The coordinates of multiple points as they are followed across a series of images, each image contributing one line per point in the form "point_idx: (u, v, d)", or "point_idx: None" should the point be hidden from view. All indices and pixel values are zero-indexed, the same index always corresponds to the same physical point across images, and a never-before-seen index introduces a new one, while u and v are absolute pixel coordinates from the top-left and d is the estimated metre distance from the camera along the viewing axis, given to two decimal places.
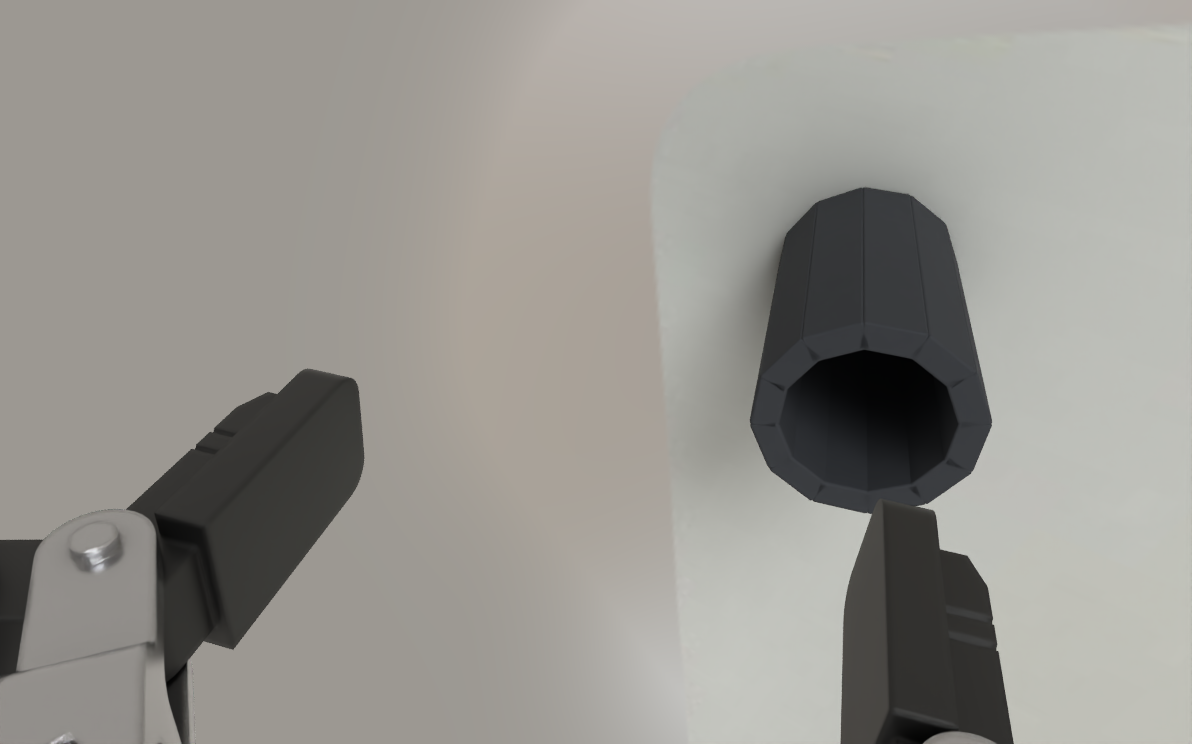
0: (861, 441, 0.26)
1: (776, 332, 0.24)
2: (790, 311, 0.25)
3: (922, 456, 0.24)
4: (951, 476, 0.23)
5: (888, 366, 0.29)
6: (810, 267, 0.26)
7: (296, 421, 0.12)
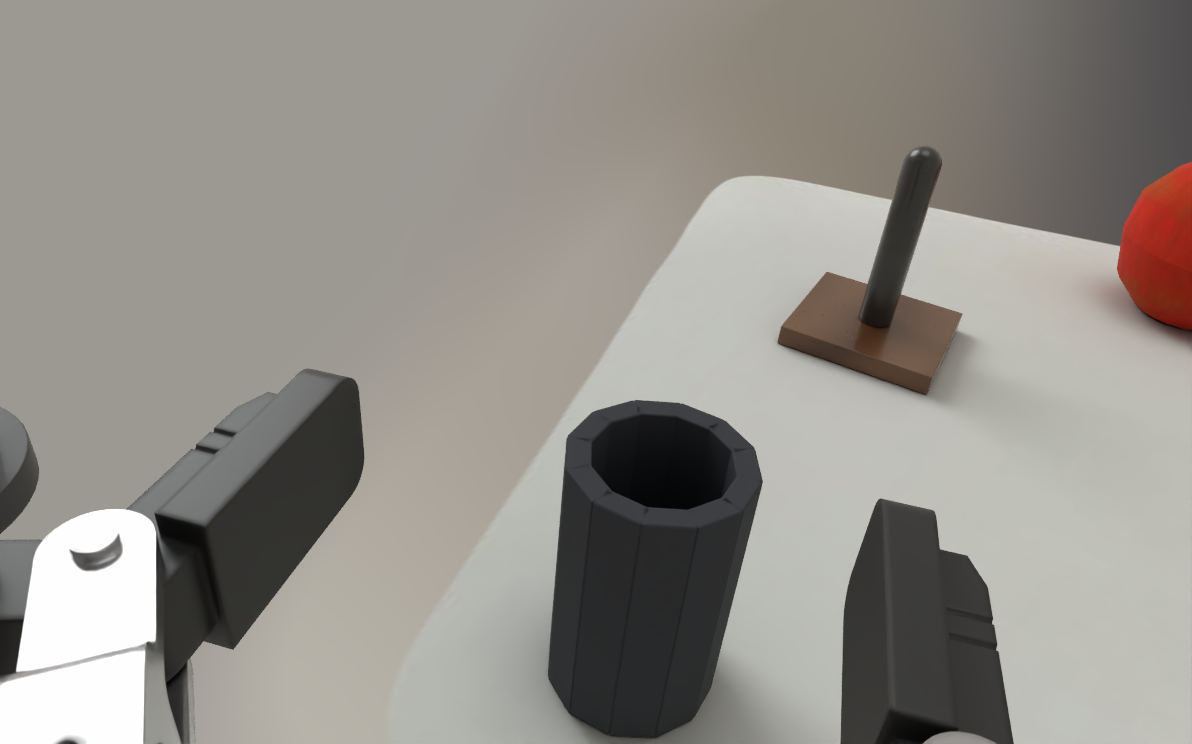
0: None
1: (579, 538, 0.26)
2: (569, 540, 0.27)
3: (718, 462, 0.28)
4: (726, 429, 0.28)
5: None
6: (557, 570, 0.28)
7: (296, 421, 0.12)
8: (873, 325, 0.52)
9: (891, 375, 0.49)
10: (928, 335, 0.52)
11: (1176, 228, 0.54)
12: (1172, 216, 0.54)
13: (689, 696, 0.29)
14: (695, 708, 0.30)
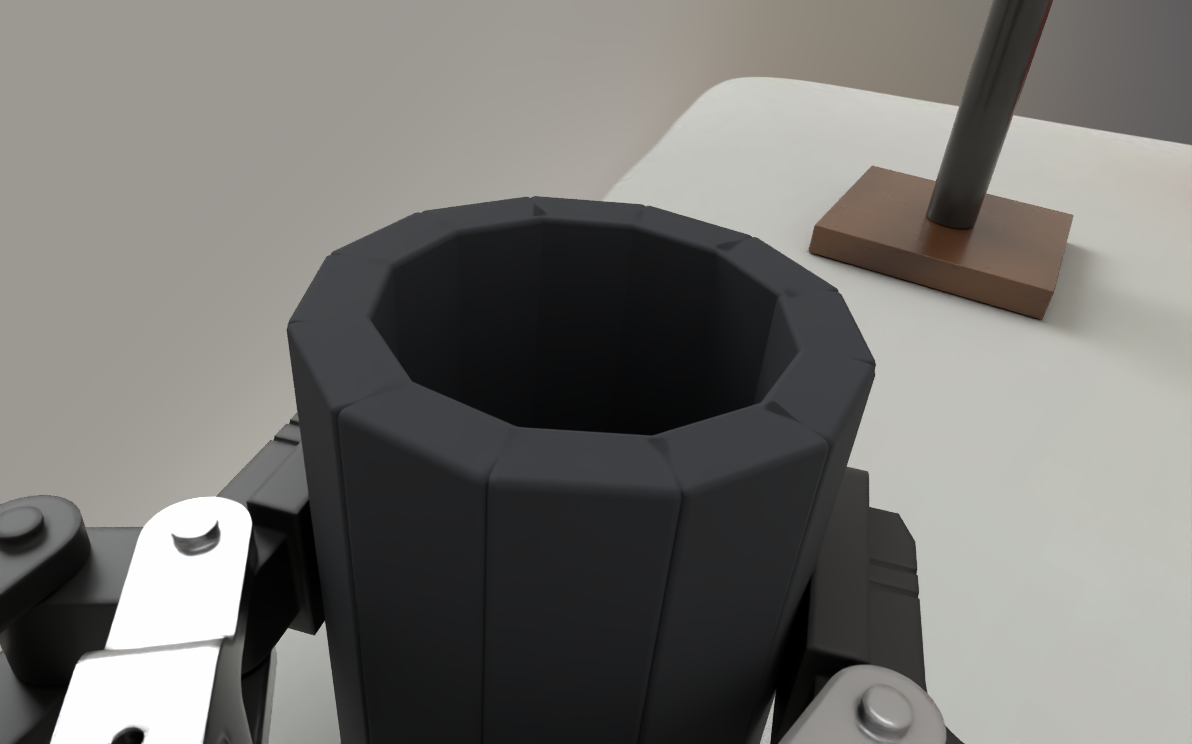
0: None
1: (334, 534, 0.09)
2: (324, 540, 0.09)
3: (739, 338, 0.11)
4: (761, 252, 0.11)
5: None
6: (326, 620, 0.11)
7: None
8: (950, 225, 0.35)
9: (986, 292, 0.32)
10: (1032, 238, 0.35)
11: None
12: None
13: None
14: None
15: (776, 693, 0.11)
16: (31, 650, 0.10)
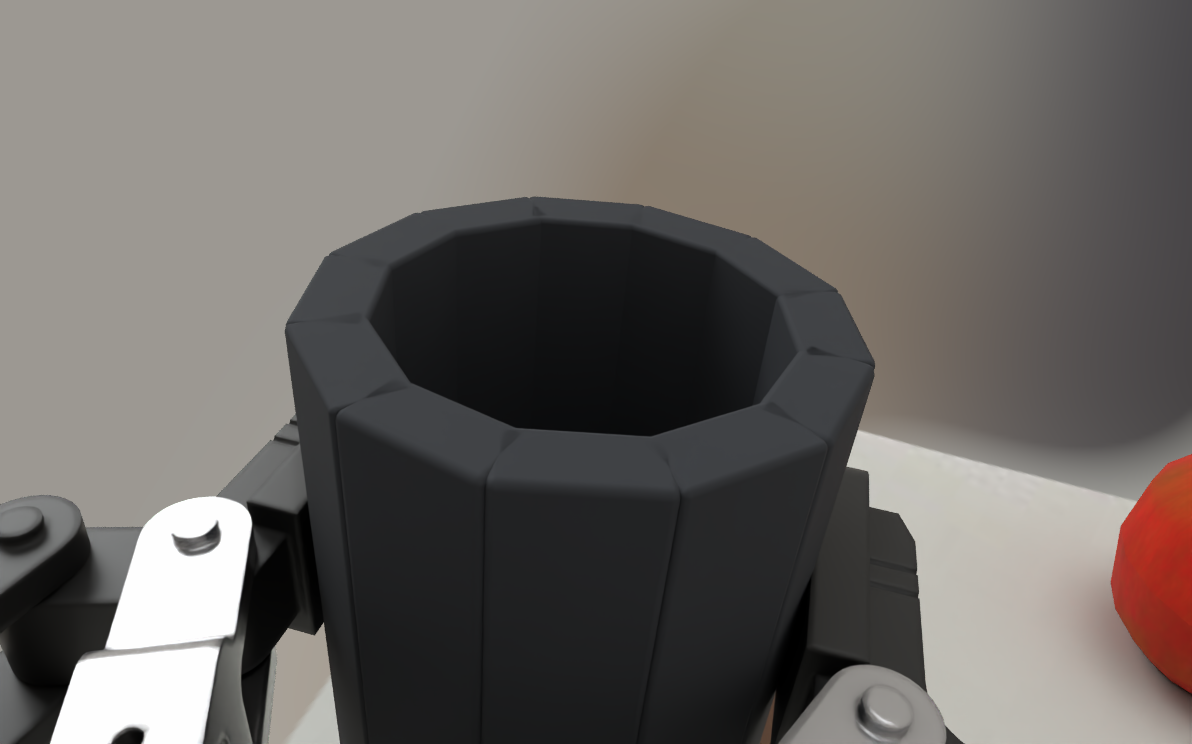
0: None
1: (332, 535, 0.09)
2: (322, 541, 0.09)
3: (739, 339, 0.11)
4: (760, 253, 0.11)
5: None
6: (324, 621, 0.11)
7: None
8: None
9: None
10: None
11: None
12: None
13: None
14: None
15: (776, 693, 0.11)
16: (31, 650, 0.10)
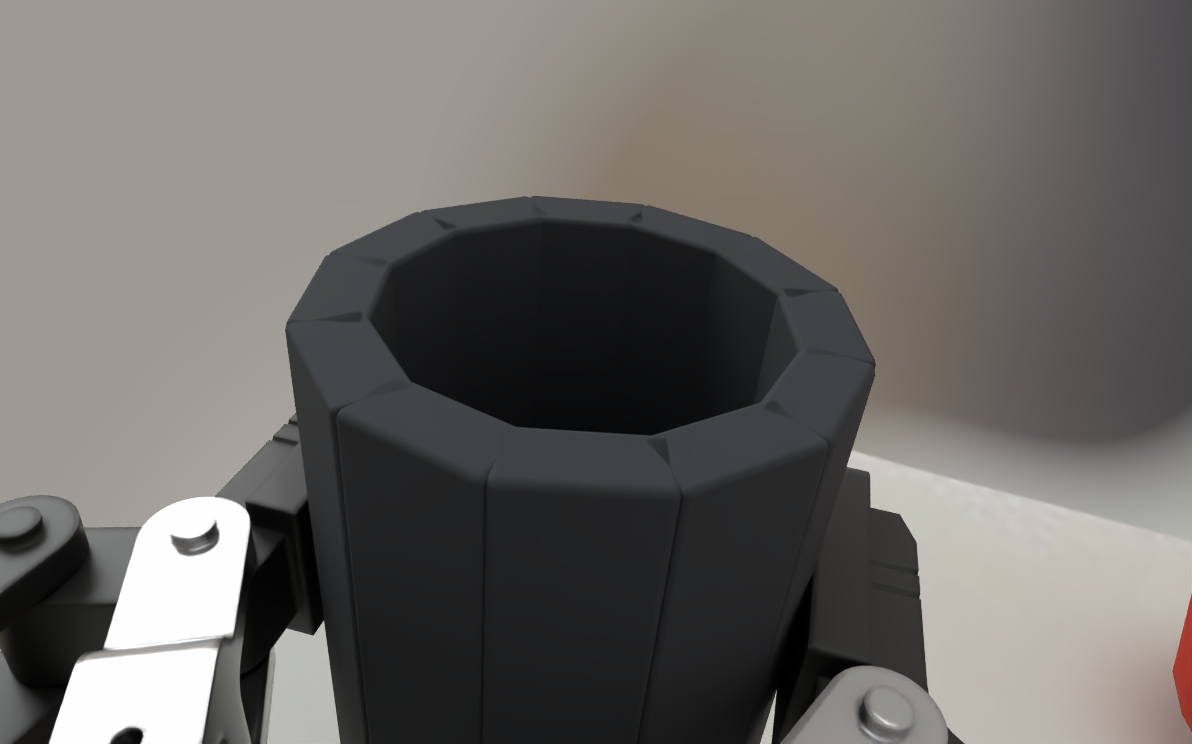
0: None
1: (332, 533, 0.09)
2: (323, 541, 0.09)
3: (739, 338, 0.11)
4: (761, 252, 0.11)
5: None
6: (325, 620, 0.11)
7: None
8: None
9: None
10: None
11: None
12: None
13: None
14: None
15: (777, 694, 0.11)
16: (30, 650, 0.10)
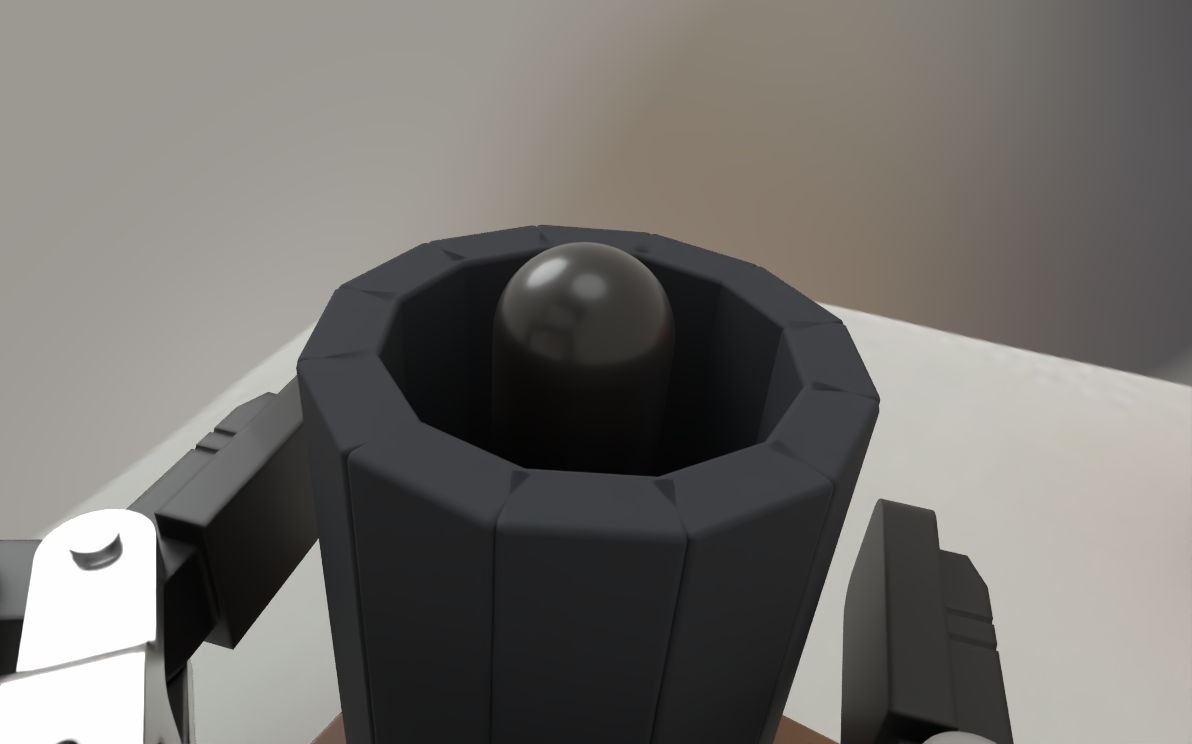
0: None
1: (342, 569, 0.09)
2: (333, 573, 0.10)
3: (744, 368, 0.11)
4: (765, 282, 0.11)
5: None
6: (334, 647, 0.11)
7: (296, 421, 0.12)
8: None
9: None
10: None
11: None
12: None
13: None
14: None
15: None
16: None
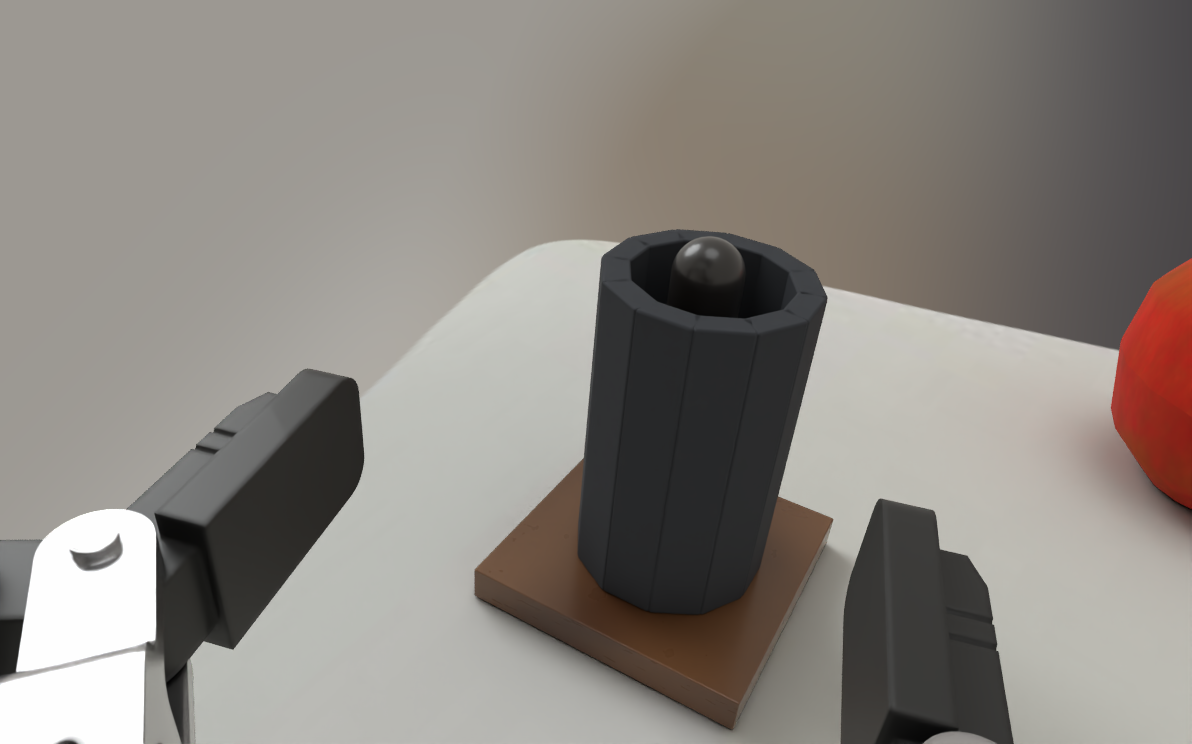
0: None
1: (618, 363, 0.23)
2: (606, 371, 0.23)
3: (772, 291, 0.25)
4: (781, 254, 0.25)
5: None
6: (590, 417, 0.25)
7: (296, 421, 0.12)
8: None
9: (666, 686, 0.25)
10: (758, 578, 0.28)
11: None
12: None
13: (739, 565, 0.26)
14: (745, 583, 0.27)
15: None
16: None
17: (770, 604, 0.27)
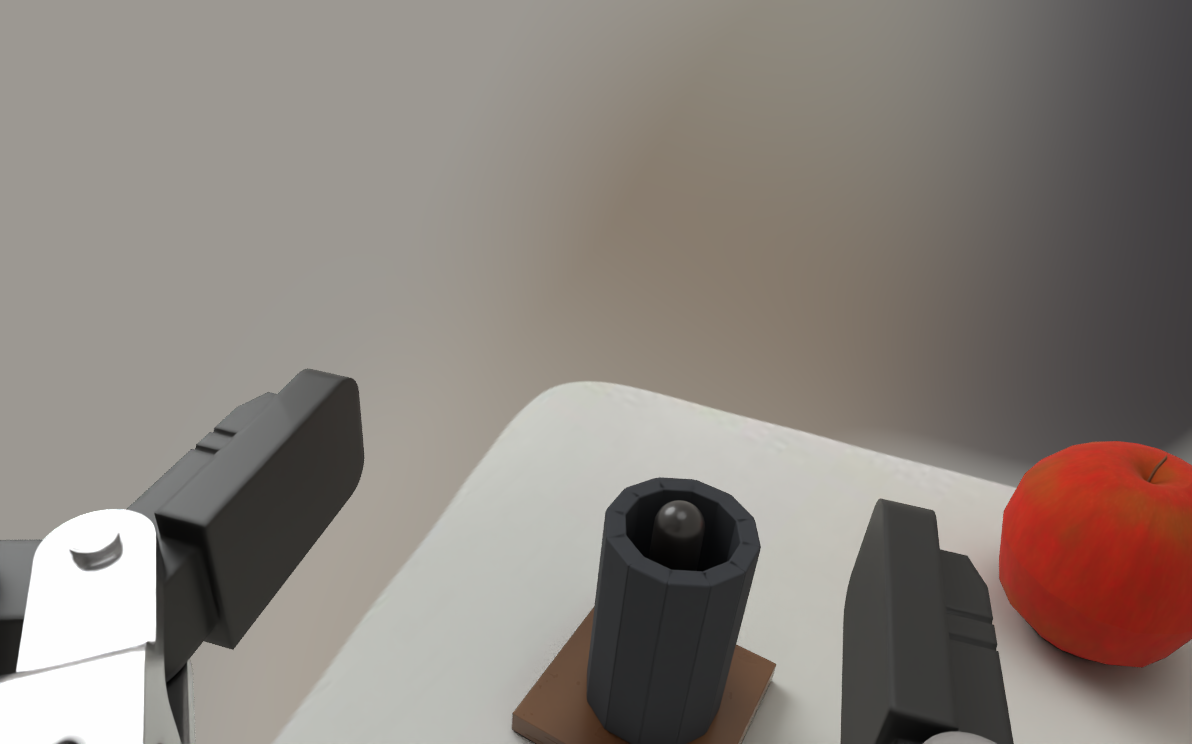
0: None
1: (616, 592, 0.33)
2: (608, 593, 0.34)
3: (725, 529, 0.35)
4: (731, 502, 0.35)
5: None
6: (597, 615, 0.35)
7: (296, 421, 0.12)
8: None
9: None
10: (717, 718, 0.38)
11: (1059, 552, 0.41)
12: (1054, 534, 0.41)
13: (702, 715, 0.36)
14: (707, 725, 0.37)
15: None
16: None
17: (725, 739, 0.37)
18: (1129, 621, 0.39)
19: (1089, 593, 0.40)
